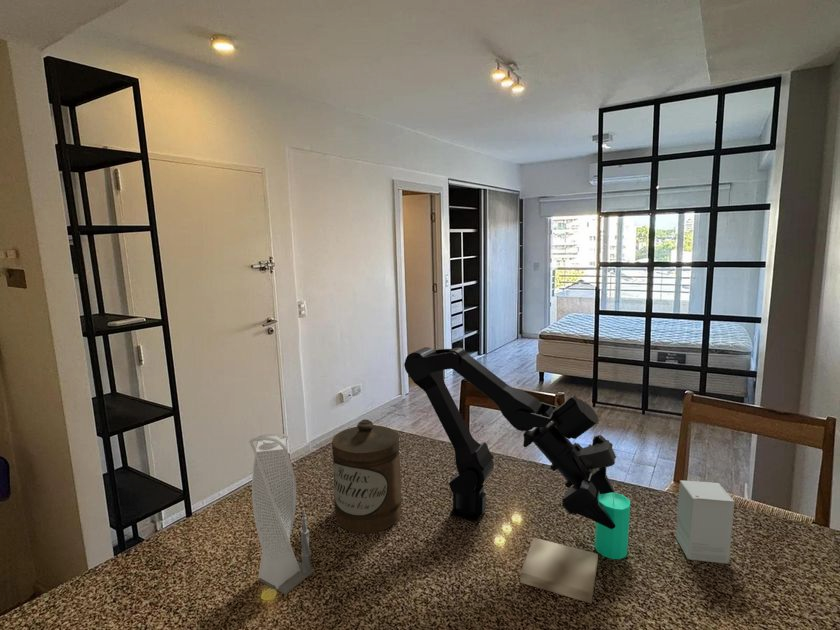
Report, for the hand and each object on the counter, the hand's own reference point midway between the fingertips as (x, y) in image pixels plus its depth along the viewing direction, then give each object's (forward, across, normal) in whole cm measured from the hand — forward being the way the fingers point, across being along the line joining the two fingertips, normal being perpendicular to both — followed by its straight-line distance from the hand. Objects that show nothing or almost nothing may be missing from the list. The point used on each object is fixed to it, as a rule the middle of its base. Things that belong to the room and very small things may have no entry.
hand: (616, 514), depth 92 cm
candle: (+5, 0, +6) cm, 8 cm away
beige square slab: (-1, -11, +11) cm, 16 cm away
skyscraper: (-33, -35, +43) cm, 64 cm away
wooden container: (-30, -11, +41) cm, 52 cm away
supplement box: (+16, +8, -5) cm, 19 cm away
